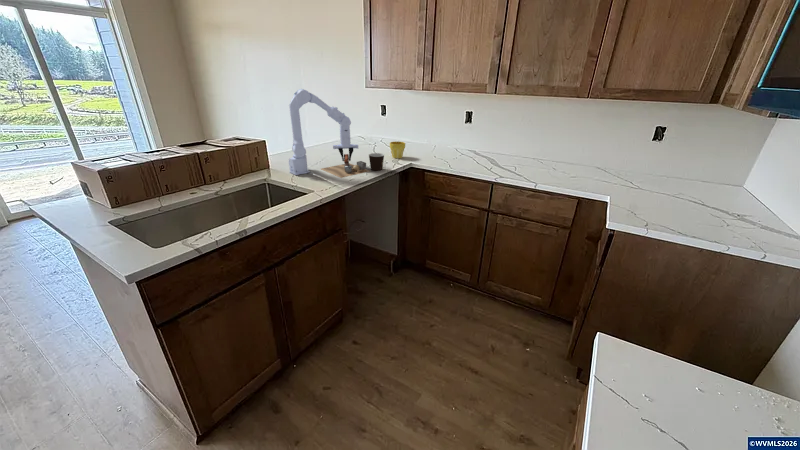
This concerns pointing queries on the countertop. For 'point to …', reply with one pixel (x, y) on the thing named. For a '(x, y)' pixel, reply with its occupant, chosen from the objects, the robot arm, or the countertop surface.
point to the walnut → (356, 167)
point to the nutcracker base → (341, 172)
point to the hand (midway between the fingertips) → (346, 160)
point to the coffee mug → (376, 161)
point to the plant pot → (397, 149)
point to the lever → (347, 164)
